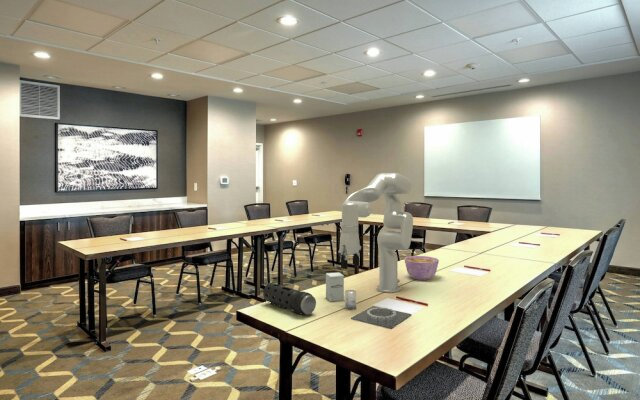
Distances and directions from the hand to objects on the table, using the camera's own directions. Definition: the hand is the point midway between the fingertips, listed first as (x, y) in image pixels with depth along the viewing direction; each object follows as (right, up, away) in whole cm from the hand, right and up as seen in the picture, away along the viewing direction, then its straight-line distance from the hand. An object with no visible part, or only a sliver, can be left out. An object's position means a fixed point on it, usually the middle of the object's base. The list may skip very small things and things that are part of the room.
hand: (350, 266), depth 178 cm
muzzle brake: (-28, -20, 0) cm, 35 cm away
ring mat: (+13, -20, -11) cm, 26 cm away
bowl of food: (+46, -16, +53) cm, 72 cm away
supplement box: (-6, -19, +15) cm, 25 cm away
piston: (0, -20, +1) cm, 20 cm away
